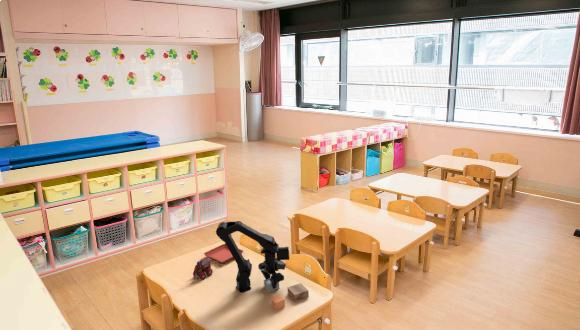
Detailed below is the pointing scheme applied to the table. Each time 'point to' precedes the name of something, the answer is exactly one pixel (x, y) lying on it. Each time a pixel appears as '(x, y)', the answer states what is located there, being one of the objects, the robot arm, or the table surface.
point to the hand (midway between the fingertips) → (271, 285)
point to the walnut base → (298, 292)
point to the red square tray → (221, 254)
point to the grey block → (270, 285)
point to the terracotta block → (278, 302)
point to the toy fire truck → (203, 268)
